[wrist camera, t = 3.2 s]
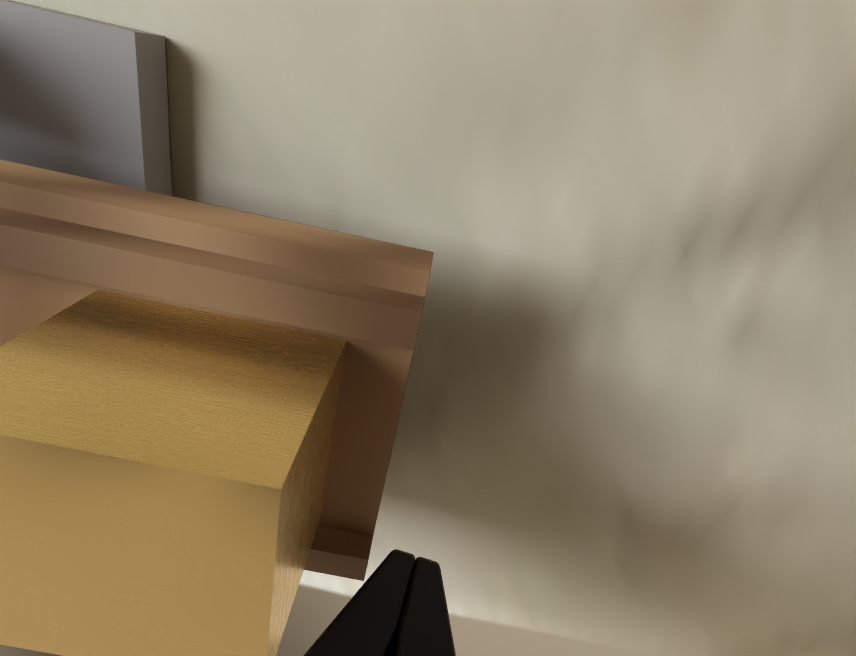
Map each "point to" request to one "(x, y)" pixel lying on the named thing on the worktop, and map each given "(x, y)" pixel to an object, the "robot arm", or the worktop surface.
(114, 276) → the balance beam
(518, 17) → the worktop surface
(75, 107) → the pivot stand
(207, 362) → the block
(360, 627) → the robot arm
